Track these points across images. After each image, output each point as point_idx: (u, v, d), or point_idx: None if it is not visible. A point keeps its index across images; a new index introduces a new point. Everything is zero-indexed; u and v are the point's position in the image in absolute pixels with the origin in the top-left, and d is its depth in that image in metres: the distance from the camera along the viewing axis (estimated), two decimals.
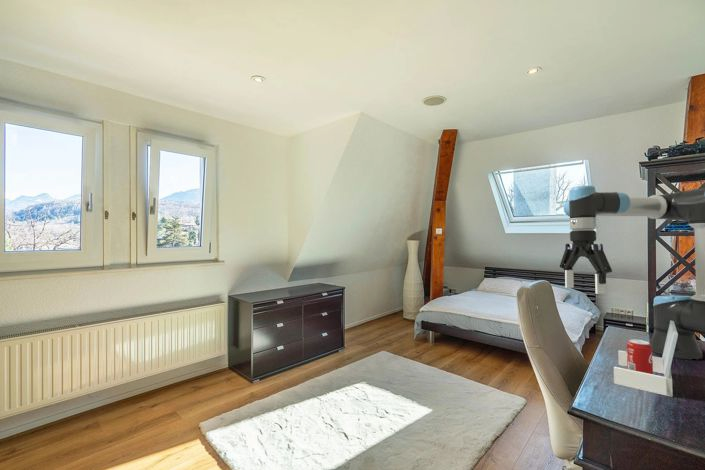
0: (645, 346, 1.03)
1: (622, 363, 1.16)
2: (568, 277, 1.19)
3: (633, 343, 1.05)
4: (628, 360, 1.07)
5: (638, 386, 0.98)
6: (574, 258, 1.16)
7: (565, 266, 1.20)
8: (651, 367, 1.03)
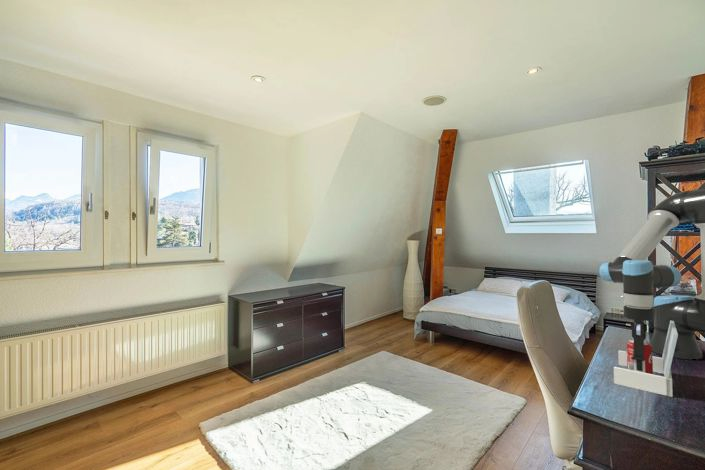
0: (645, 346, 1.03)
1: (622, 363, 1.16)
2: None
3: (633, 343, 1.05)
4: (628, 360, 1.07)
5: (638, 386, 0.98)
6: None
7: None
8: (651, 367, 1.03)
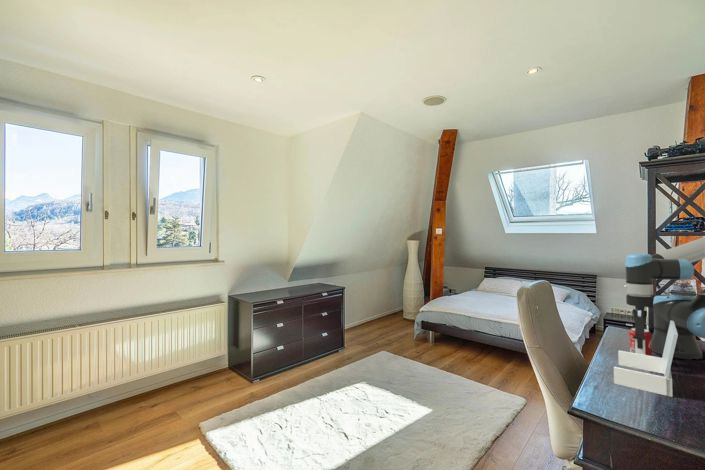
0: (646, 333, 1.18)
1: (622, 363, 1.16)
2: None
3: None
4: (630, 346, 1.21)
5: (638, 386, 0.98)
6: None
7: None
8: (650, 352, 1.17)
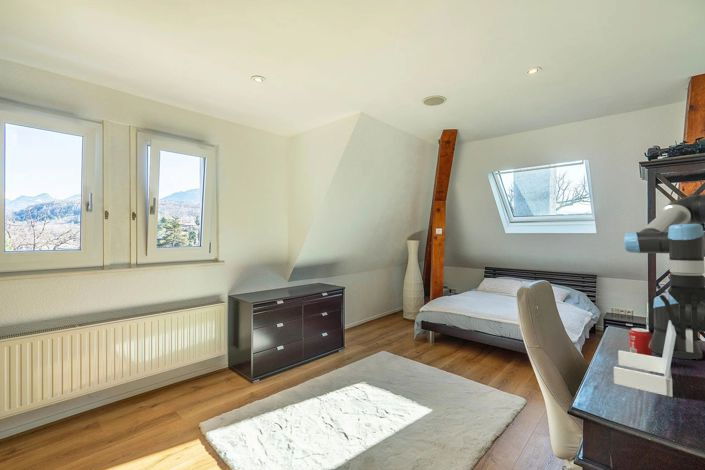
0: (645, 333, 1.18)
1: (622, 363, 1.16)
2: None
3: (635, 331, 1.20)
4: (630, 346, 1.21)
5: (638, 386, 0.98)
6: (690, 309, 0.98)
7: None
8: (650, 352, 1.17)
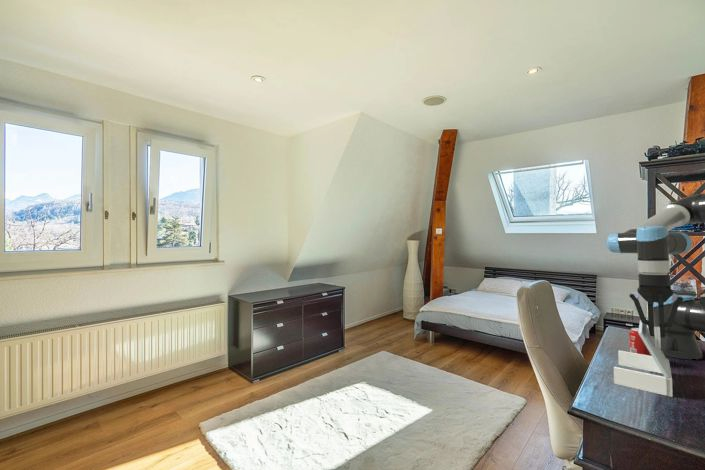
0: None
1: (622, 363, 1.16)
2: None
3: (635, 331, 1.20)
4: (630, 346, 1.21)
5: (638, 386, 0.98)
6: (658, 307, 1.03)
7: None
8: None
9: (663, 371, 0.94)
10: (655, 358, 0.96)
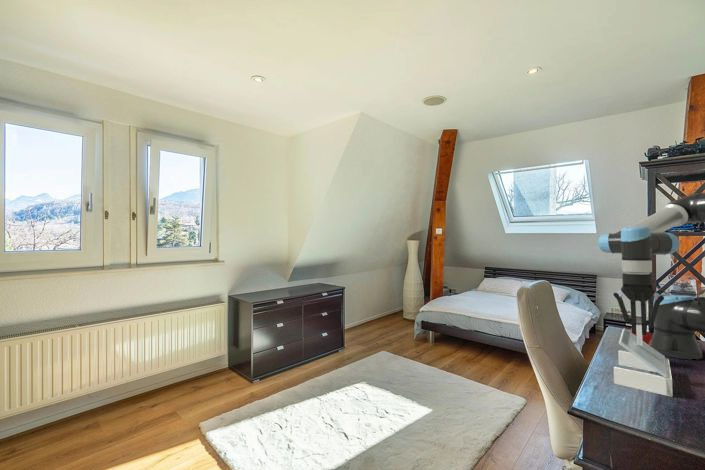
0: None
1: (622, 363, 1.16)
2: None
3: None
4: None
5: (638, 386, 0.98)
6: None
7: None
8: None
9: (660, 372, 0.95)
10: (646, 362, 0.97)
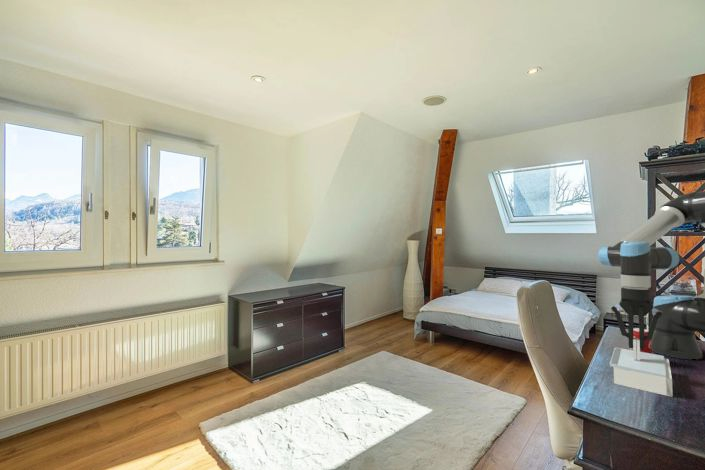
0: (645, 333, 1.18)
1: None
2: (636, 346, 1.07)
3: (635, 331, 1.20)
4: None
5: (638, 386, 0.98)
6: None
7: None
8: (650, 352, 1.17)
9: (659, 375, 0.95)
10: (641, 371, 0.98)
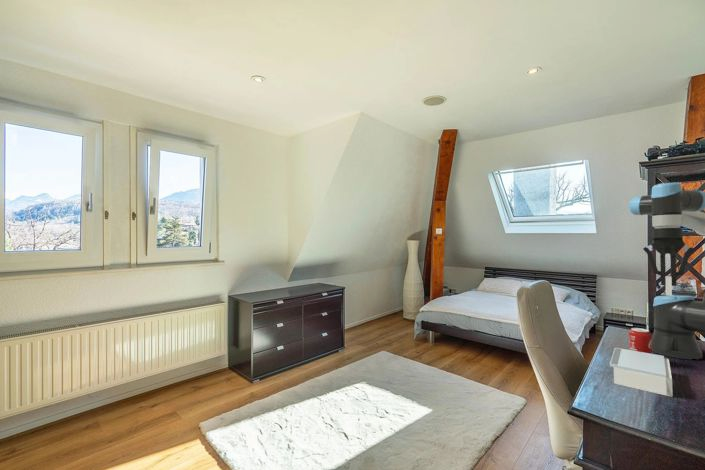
0: (645, 333, 1.18)
1: None
2: None
3: (634, 331, 1.20)
4: (630, 346, 1.21)
5: (638, 386, 0.98)
6: (670, 258, 1.12)
7: None
8: (650, 352, 1.17)
9: (659, 375, 0.95)
10: (641, 371, 0.98)
